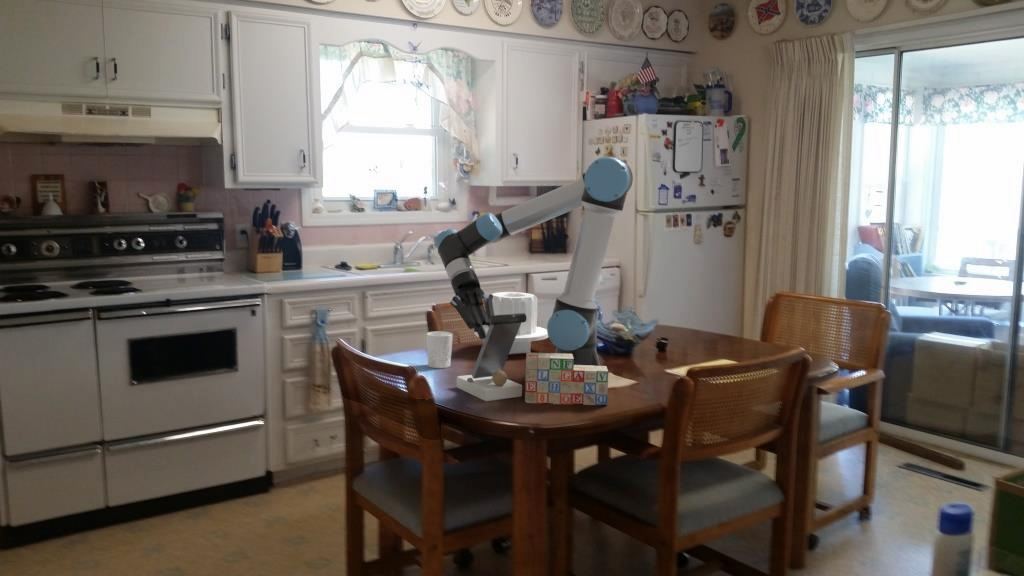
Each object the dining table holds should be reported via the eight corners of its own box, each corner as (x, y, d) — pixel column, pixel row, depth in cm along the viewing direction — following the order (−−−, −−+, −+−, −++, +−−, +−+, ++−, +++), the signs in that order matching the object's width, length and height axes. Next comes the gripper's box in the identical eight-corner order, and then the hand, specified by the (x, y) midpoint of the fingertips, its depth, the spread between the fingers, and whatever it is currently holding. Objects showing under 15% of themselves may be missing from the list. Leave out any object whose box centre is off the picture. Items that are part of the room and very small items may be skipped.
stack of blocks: (605, 400, 218) (607, 354, 217) (607, 406, 212) (609, 359, 210) (524, 396, 219) (526, 351, 217) (524, 403, 213) (525, 356, 211)
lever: (468, 373, 222) (490, 313, 210) (499, 370, 227) (523, 311, 215) (471, 380, 220) (494, 319, 209) (503, 376, 226) (527, 317, 214)
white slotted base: (456, 387, 227) (457, 362, 226) (490, 382, 232) (491, 358, 232) (486, 401, 213) (486, 374, 212) (521, 396, 219) (522, 370, 218)
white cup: (448, 369, 247) (448, 337, 245) (422, 367, 248) (423, 335, 247) (455, 364, 254) (455, 332, 253) (430, 362, 256) (431, 330, 254)
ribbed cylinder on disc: (528, 341, 292) (530, 288, 290) (561, 356, 270) (563, 299, 267) (463, 345, 282) (464, 290, 279) (491, 361, 260) (493, 301, 257)
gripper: (478, 285, 237) (506, 353, 226) (437, 287, 230) (465, 357, 219) (488, 268, 232) (517, 338, 220) (447, 270, 225) (475, 342, 213)
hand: (491, 347), depth 220 cm, fingers closed
